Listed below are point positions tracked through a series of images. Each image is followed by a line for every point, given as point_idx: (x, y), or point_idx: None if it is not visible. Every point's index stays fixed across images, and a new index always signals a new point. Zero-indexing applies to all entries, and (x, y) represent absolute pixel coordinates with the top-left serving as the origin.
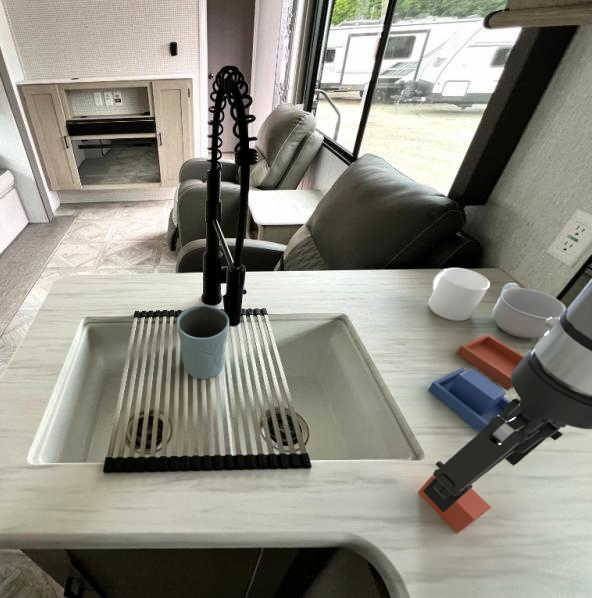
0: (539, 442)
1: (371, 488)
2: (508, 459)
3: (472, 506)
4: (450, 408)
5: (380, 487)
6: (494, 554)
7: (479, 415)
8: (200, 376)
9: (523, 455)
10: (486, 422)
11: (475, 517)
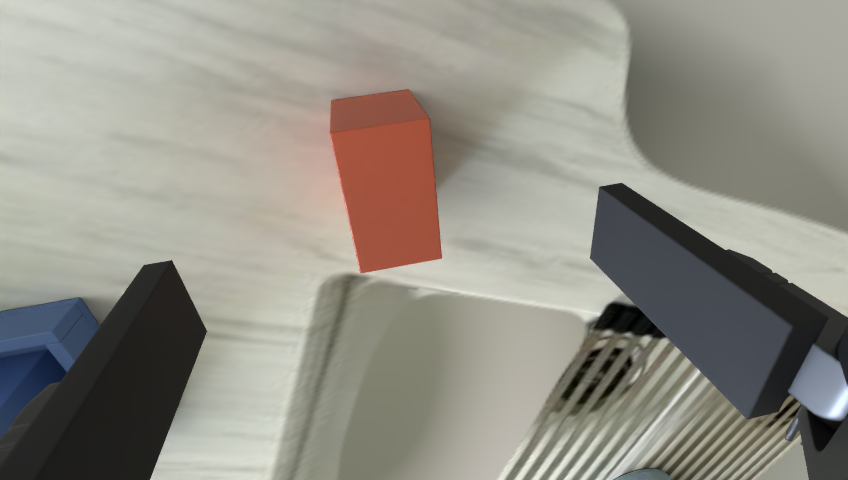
0: (53, 461)
1: (525, 239)
2: (178, 289)
3: (396, 153)
4: None
5: (503, 236)
6: (343, 4)
7: (46, 355)
8: (664, 477)
9: (137, 325)
10: (53, 346)
11: (418, 122)
